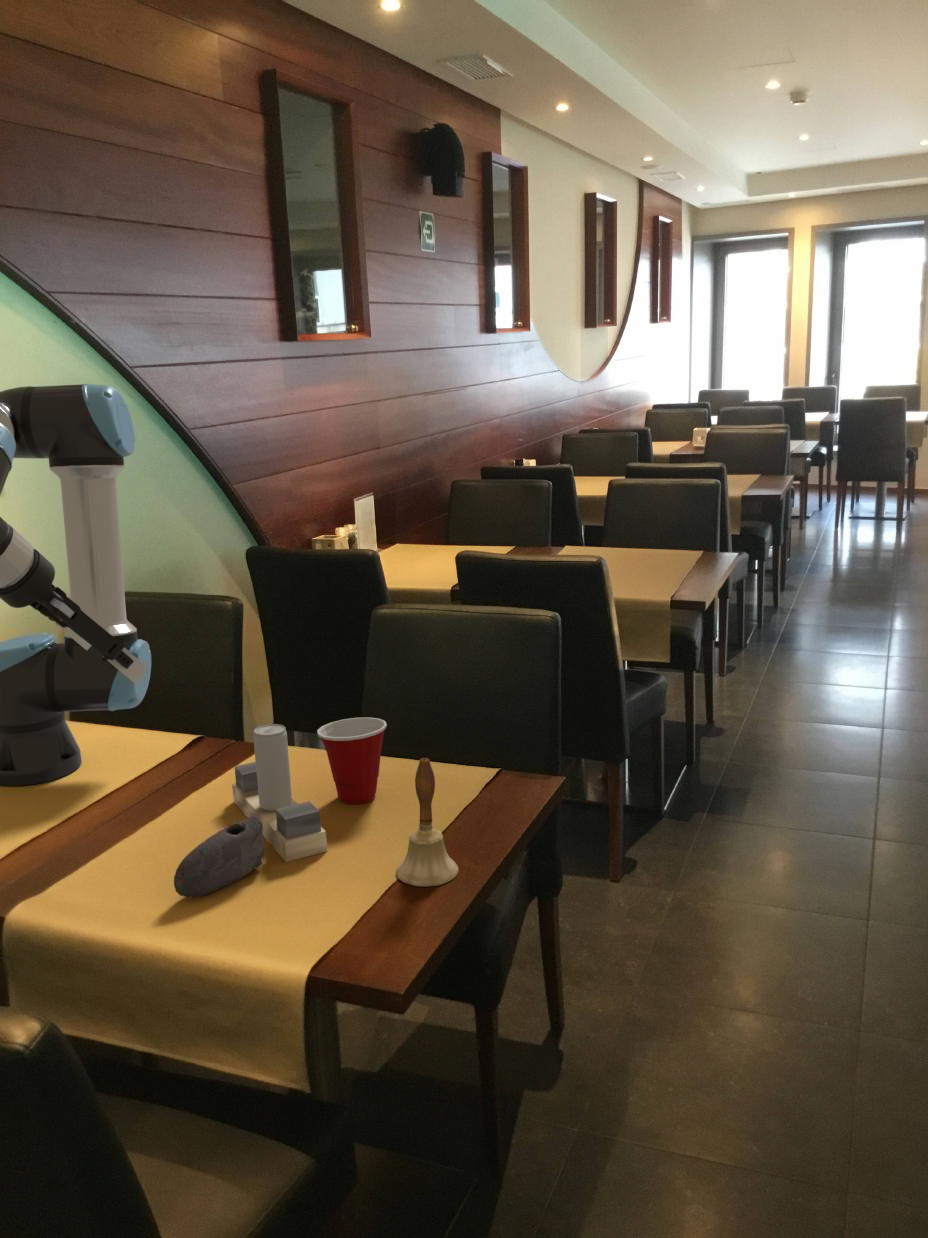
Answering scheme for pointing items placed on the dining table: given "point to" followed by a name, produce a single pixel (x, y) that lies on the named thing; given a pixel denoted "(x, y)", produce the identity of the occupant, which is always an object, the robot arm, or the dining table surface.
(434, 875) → the hand bell
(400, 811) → the dining table surface
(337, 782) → the plastic cup
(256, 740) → the beverage can
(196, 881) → the perforated stone tool
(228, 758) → the dining table surface
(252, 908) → the dining table surface
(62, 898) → the dining table surface
